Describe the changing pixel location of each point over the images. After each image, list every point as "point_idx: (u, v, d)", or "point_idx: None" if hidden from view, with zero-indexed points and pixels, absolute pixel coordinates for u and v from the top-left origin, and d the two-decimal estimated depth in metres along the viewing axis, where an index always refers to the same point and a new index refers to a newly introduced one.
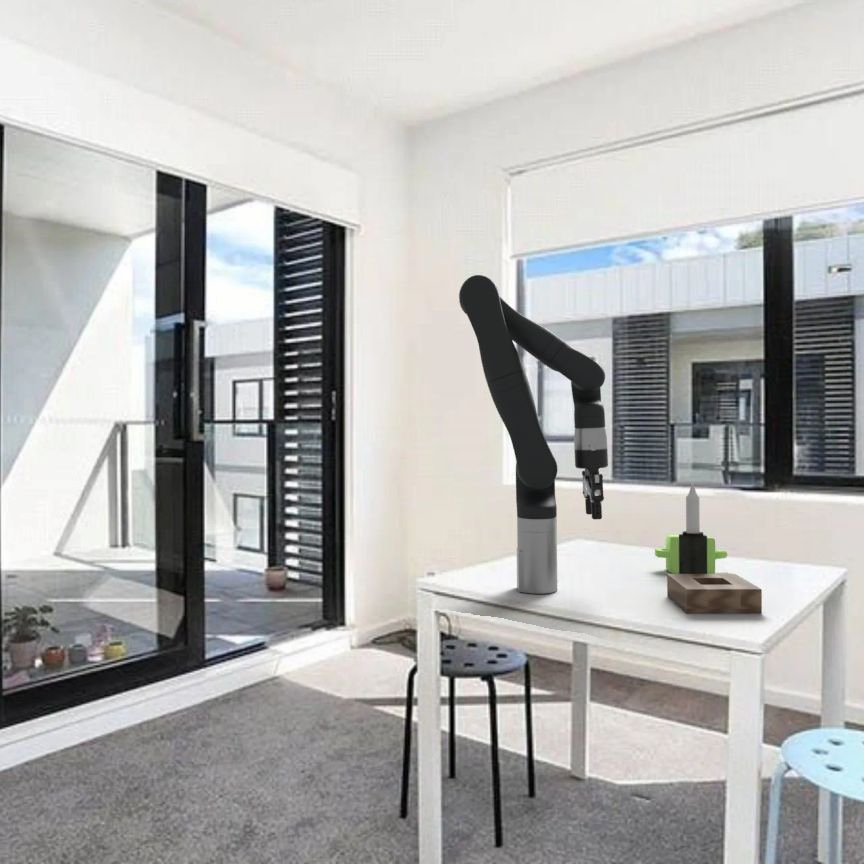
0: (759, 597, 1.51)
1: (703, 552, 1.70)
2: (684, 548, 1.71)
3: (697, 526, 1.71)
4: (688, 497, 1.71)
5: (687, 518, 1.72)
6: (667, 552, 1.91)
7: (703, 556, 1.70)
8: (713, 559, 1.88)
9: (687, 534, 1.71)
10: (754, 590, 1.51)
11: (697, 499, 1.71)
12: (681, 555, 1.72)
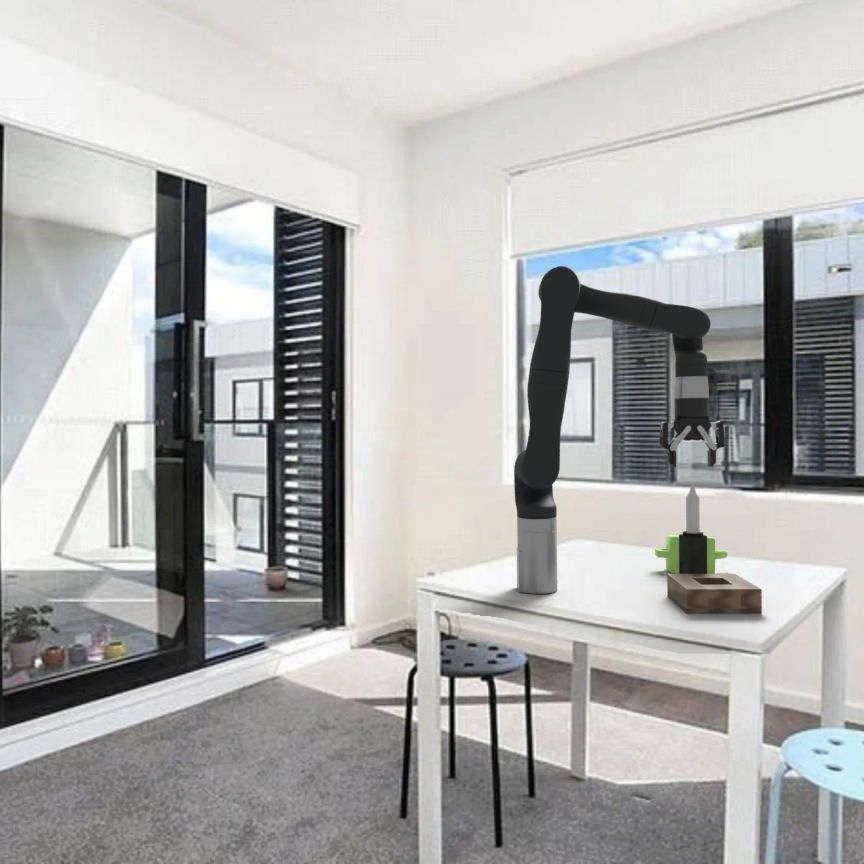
0: (759, 597, 1.51)
1: (703, 552, 1.70)
2: (684, 548, 1.71)
3: (697, 526, 1.71)
4: (688, 497, 1.71)
5: (687, 518, 1.72)
6: (667, 552, 1.91)
7: (703, 556, 1.70)
8: (713, 559, 1.88)
9: (687, 534, 1.71)
10: (754, 590, 1.51)
11: (697, 499, 1.71)
12: (681, 555, 1.72)
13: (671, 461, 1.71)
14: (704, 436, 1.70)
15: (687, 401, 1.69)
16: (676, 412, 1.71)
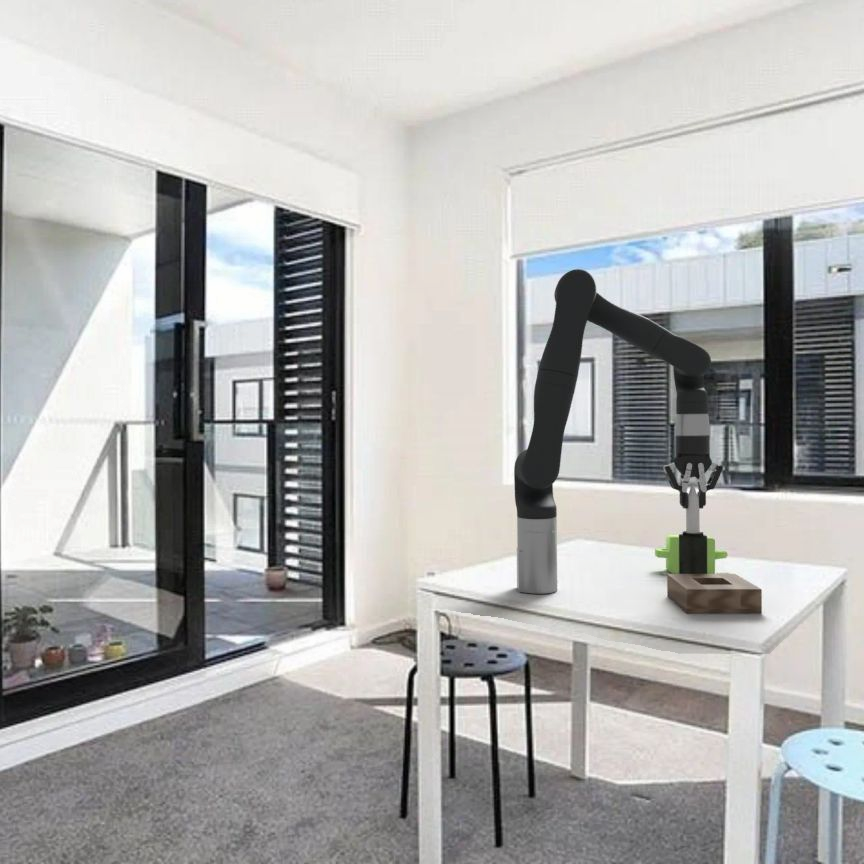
0: (759, 597, 1.51)
1: (703, 552, 1.70)
2: (684, 548, 1.71)
3: (697, 526, 1.71)
4: (688, 497, 1.71)
5: (687, 518, 1.72)
6: (667, 552, 1.91)
7: (703, 556, 1.70)
8: (713, 559, 1.88)
9: (687, 534, 1.71)
10: (754, 590, 1.51)
11: (697, 499, 1.71)
12: (681, 555, 1.72)
13: (683, 503, 1.71)
14: None
15: (688, 439, 1.69)
16: (677, 449, 1.71)
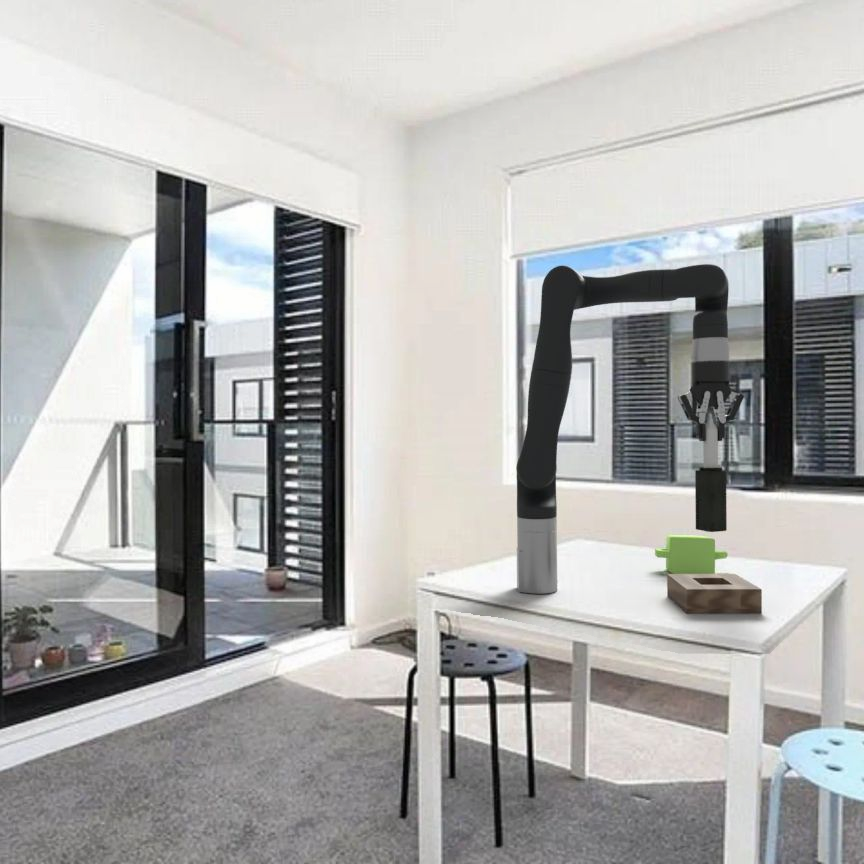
0: (759, 597, 1.51)
1: (722, 487, 1.57)
2: (701, 484, 1.58)
3: (715, 460, 1.58)
4: (706, 429, 1.58)
5: (704, 452, 1.58)
6: (667, 552, 1.91)
7: (722, 492, 1.57)
8: (713, 559, 1.87)
9: (705, 469, 1.57)
10: (754, 590, 1.51)
11: (715, 431, 1.58)
12: (698, 492, 1.59)
13: (700, 435, 1.58)
14: None
15: (706, 364, 1.55)
16: (694, 377, 1.58)
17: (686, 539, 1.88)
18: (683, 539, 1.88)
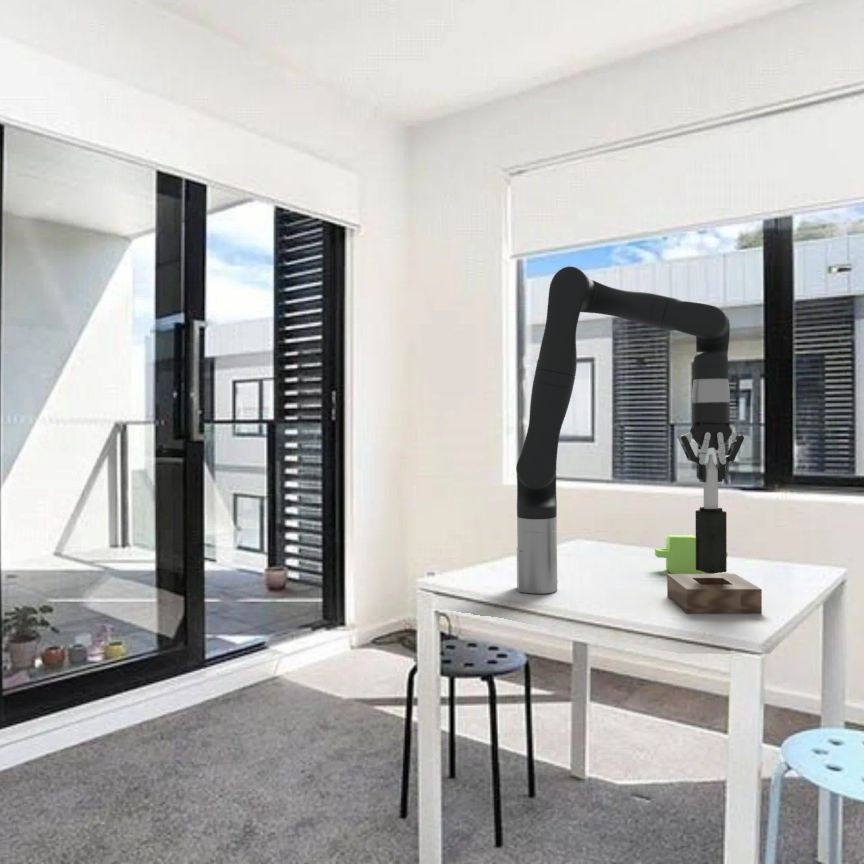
0: (759, 597, 1.51)
1: (722, 529, 1.57)
2: (701, 525, 1.58)
3: (716, 501, 1.57)
4: (706, 470, 1.58)
5: (705, 492, 1.58)
6: (667, 552, 1.91)
7: (722, 533, 1.57)
8: None
9: (705, 510, 1.57)
10: (754, 590, 1.51)
11: (716, 472, 1.57)
12: (698, 532, 1.59)
13: (700, 476, 1.58)
14: None
15: (706, 406, 1.55)
16: (694, 417, 1.58)
17: (686, 539, 1.88)
18: (683, 539, 1.88)
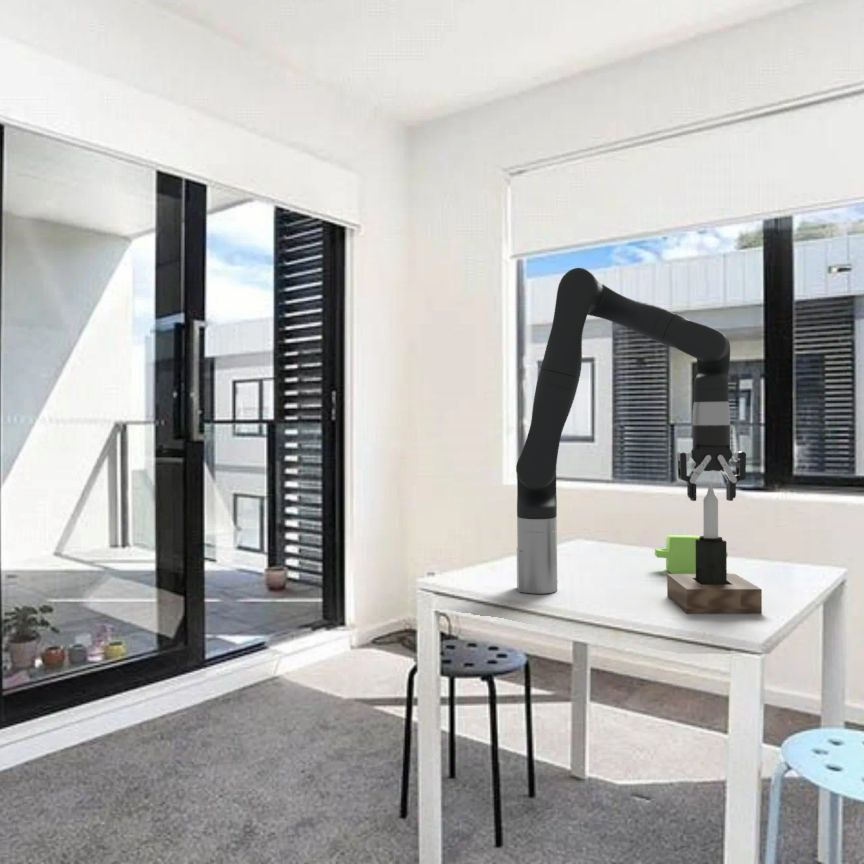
0: (759, 597, 1.51)
1: (722, 558, 1.57)
2: (701, 555, 1.58)
3: (716, 530, 1.57)
4: (706, 499, 1.58)
5: (705, 522, 1.58)
6: (666, 552, 1.91)
7: (722, 563, 1.57)
8: None
9: (705, 539, 1.57)
10: (754, 590, 1.51)
11: (716, 501, 1.57)
12: (698, 562, 1.59)
13: (691, 494, 1.58)
14: (725, 466, 1.57)
15: (707, 429, 1.55)
16: (694, 440, 1.58)
17: (686, 539, 1.88)
18: (683, 539, 1.88)
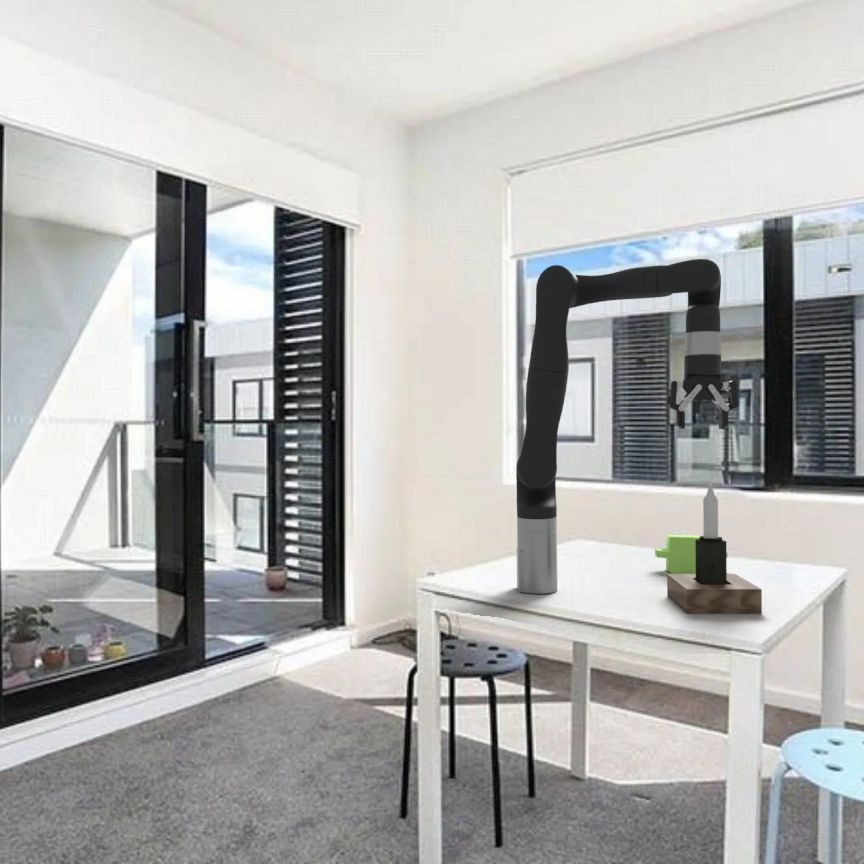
0: (759, 597, 1.51)
1: (722, 558, 1.57)
2: (701, 555, 1.58)
3: (715, 530, 1.57)
4: (706, 499, 1.58)
5: (704, 522, 1.58)
6: (666, 552, 1.91)
7: (722, 563, 1.57)
8: None
9: (705, 539, 1.57)
10: (754, 590, 1.51)
11: (715, 501, 1.57)
12: (698, 562, 1.59)
13: (680, 422, 1.60)
14: (715, 396, 1.59)
15: (698, 358, 1.57)
16: (686, 370, 1.60)
17: (686, 539, 1.88)
18: (683, 539, 1.88)
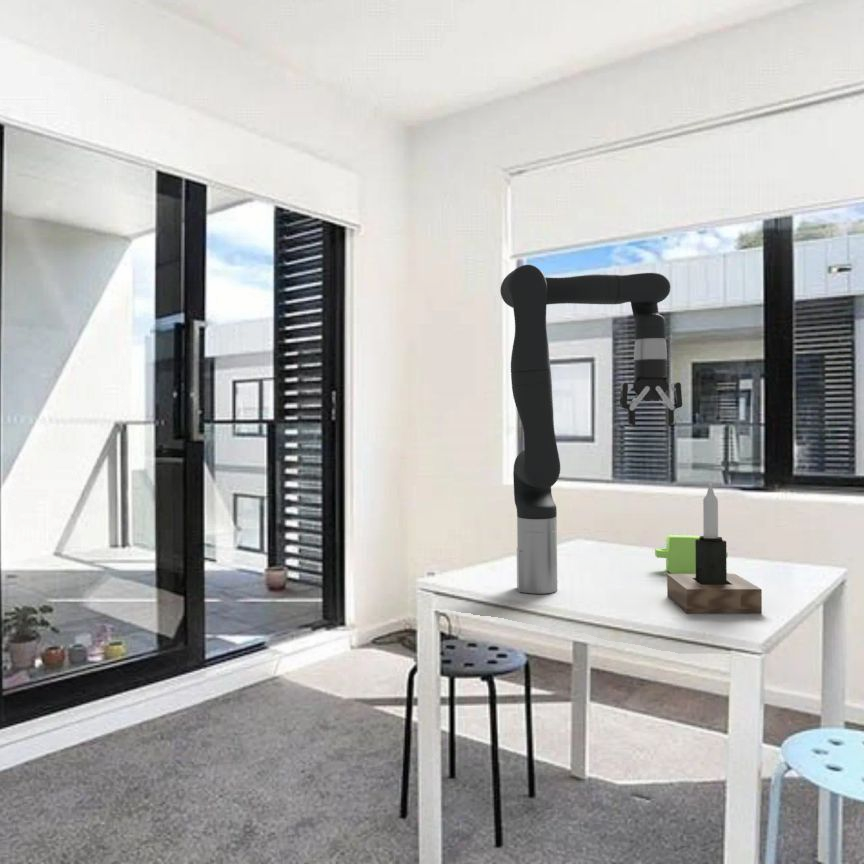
0: (759, 597, 1.51)
1: (722, 558, 1.57)
2: (701, 555, 1.58)
3: (715, 530, 1.57)
4: (706, 499, 1.58)
5: (704, 522, 1.58)
6: (666, 552, 1.91)
7: (722, 563, 1.57)
8: None
9: (705, 539, 1.57)
10: (754, 590, 1.51)
11: (715, 501, 1.57)
12: (698, 562, 1.59)
13: (630, 421, 1.78)
14: (662, 396, 1.76)
15: (645, 362, 1.75)
16: (635, 373, 1.77)
17: (685, 539, 1.88)
18: (682, 539, 1.88)
